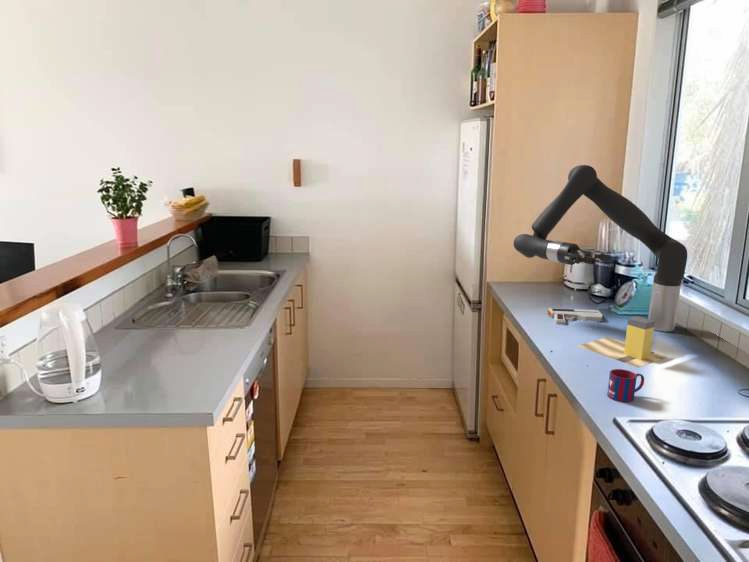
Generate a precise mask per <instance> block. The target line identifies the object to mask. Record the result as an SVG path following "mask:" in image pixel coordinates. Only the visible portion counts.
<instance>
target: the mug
mask: <svg viewBox="0 0 749 562" xmlns="http://www.w3.org/2000/svg"><path fill="white" fill-rule="evenodd" d="M637 377H640V383H639V385H638V386H637V387H636V385H637ZM644 383H645V376H644V375H643V374H641V373H635V372H633V371H632V370H628V369H622V368H614V369H611V370H609V377H608V386H607V393H606V395H607V397H608V398H609V399H611V400H613V401H616V402H620V403H630V402H633V401H634V399H635V393H637V392H638V391H640V390H641V389H642V388H643V387H644V385H645V384H644Z"/></svg>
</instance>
